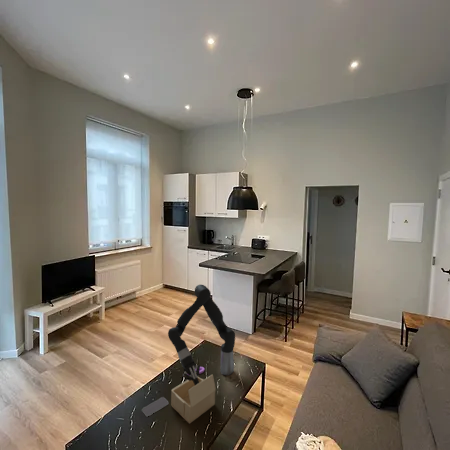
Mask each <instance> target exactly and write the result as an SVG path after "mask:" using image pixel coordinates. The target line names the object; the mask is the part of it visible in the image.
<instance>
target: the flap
mask: <svg viewBox="0 0 450 450" xmlns="http://www.w3.org/2000/svg"><path fill="white" fill-rule="evenodd" d="M214 378H215V377H214V375H213V374H210V375H209V376H207V377H206V378H203V379H204V380H203V381H201V382H200V383H198V384H197V385H195V386H193V387H192V388H190V389H189V390H188V392H189V398H190V403H191V407H193V406H194V405H196V404H197V403H198V402H200V401H201V400H203V399H204V398H205V397H207V396H208V395H210V394H211V393H212V392H214V391H215V392H216V389H217V388H216V383H215V379H214Z"/></svg>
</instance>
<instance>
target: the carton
mask: <svg viewBox="0 0 450 450" xmlns="http://www.w3.org/2000/svg"><path fill="white" fill-rule="evenodd" d="M197 378H198V381H199V383H200V382H201V381H203V380H204V379H205V378H201V377H199V376H198V377H197ZM193 386H195V385H194V383H193V381H192V380H190V381H189V380H188V379H186V380H185V381H183V382H181V383H180V384H179V385H177V386H175V387H173V388H172V389H171V391H170V392H171V394H170V395H171V397H170V398H171V399H170V401H171V402H170V404H171V405H170V406H171V407H172V408H173V409H174V410H175V411H176V412H177V413H178V414H179V415H180V416H181V417H182V418H183V419H184V420H185V421H186V422H187V423H188V424H189V425H190V424H191V423H192V422H195V420H197V419H198V418H199V417H200V416H201V415H203V414H204V413H206V412H207V411H208V410H210V409H211V408H213V407H214V406H215V404H216V390H215V391H214V392H212V393H211V394H210V395H208V396H207V397H205V398H204V399H203V400H201V401H200V402H198V403H197V404H196V405H194V406H193V407H191V403H190V398H189V392H188V390H189V389H190V388H192V387H193Z"/></svg>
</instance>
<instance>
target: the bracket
mask: <svg viewBox="0 0 450 450" xmlns="http://www.w3.org/2000/svg"><path fill="white" fill-rule="evenodd" d="M203 373H205V367H203V366H200V371H199V375H200V374H203Z"/></svg>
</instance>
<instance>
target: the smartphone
mask: <svg viewBox="0 0 450 450" xmlns="http://www.w3.org/2000/svg"><path fill="white" fill-rule="evenodd" d="M168 405H169V401H168V400H167V399H166V398H165V397H164V396H161V397H160V398H158V399H157V400H155V401H153V402H151V403H150V404H148V405H146V406H144V407H143V408H142V409H141V412H142V413H143V414H144V415H145V417H147V418H148V416H149V417H150V416H152V415H154V414H155V413H157V412H159V411H160V410H162V409H164V408H165V407H167V406H168ZM153 413H154V414H153Z"/></svg>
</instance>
